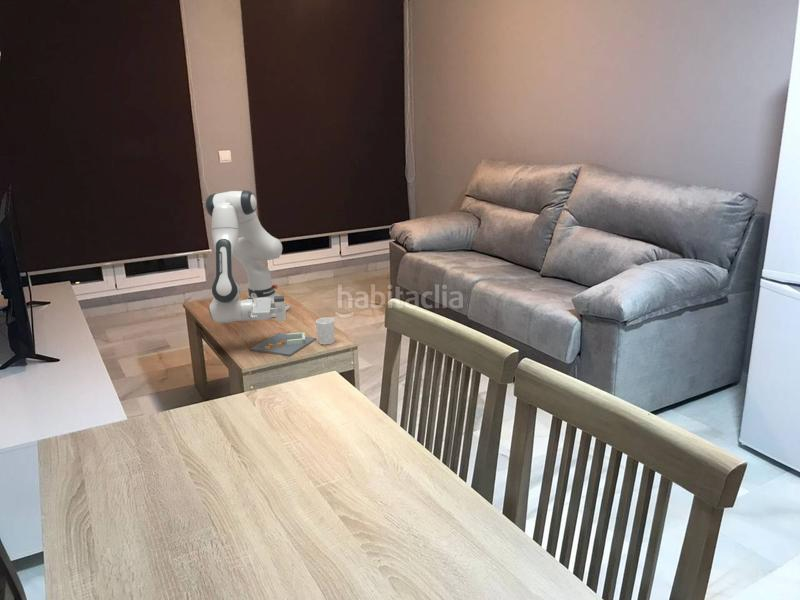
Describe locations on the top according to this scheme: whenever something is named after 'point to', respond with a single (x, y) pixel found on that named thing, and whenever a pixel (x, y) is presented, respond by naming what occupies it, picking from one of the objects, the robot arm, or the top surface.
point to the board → (281, 345)
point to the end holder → (296, 341)
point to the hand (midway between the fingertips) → (282, 307)
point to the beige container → (280, 303)
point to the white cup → (325, 330)
